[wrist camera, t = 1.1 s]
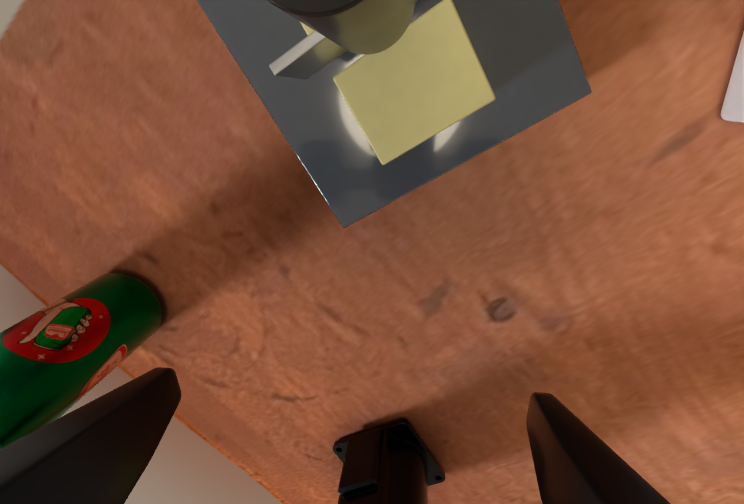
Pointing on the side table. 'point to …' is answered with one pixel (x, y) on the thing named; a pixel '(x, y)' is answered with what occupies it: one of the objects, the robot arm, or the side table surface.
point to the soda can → (70, 350)
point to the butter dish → (440, 152)
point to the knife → (340, 31)
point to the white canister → (735, 90)
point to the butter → (415, 83)
